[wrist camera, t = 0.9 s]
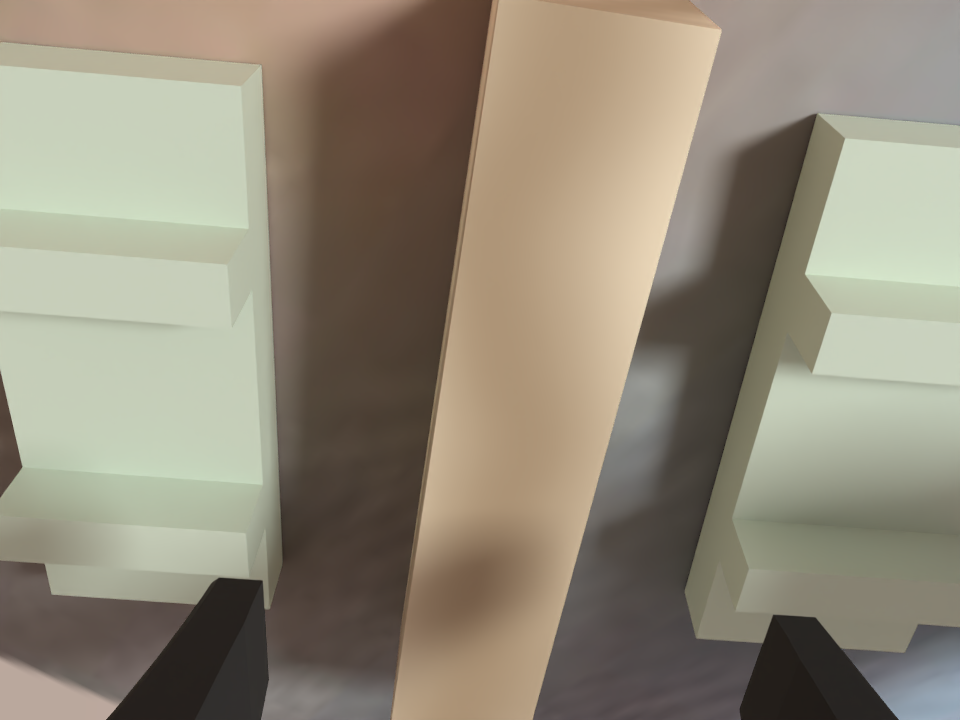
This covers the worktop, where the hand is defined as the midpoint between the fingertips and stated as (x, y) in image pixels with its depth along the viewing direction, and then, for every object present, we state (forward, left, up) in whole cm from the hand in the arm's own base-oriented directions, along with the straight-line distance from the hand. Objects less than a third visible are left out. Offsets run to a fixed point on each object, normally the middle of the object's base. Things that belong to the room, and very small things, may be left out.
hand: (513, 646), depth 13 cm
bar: (0, 0, -8) cm, 8 cm away
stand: (0, 0, -7) cm, 7 cm away
